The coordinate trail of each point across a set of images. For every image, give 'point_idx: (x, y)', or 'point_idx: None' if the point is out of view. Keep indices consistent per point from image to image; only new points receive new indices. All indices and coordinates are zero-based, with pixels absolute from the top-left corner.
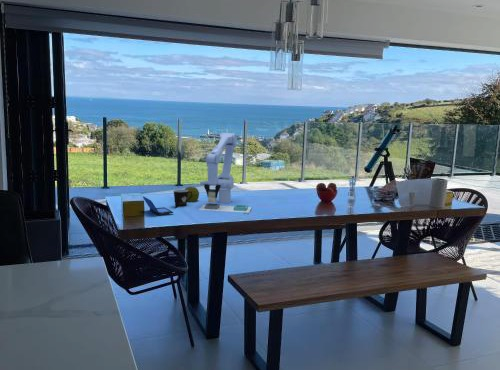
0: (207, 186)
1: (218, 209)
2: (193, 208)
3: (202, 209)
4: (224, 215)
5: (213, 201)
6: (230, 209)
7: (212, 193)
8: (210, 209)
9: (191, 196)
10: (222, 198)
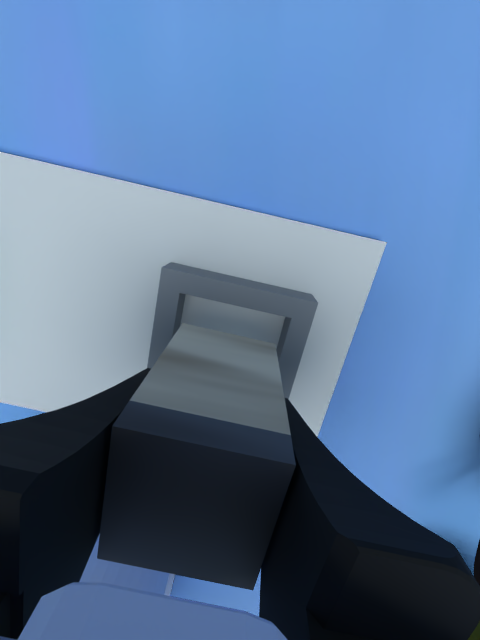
0: (355, 575)
1: (156, 260)
2: (416, 377)
3: (339, 256)
4: (76, 25)
5: (202, 333)
6: (24, 263)
7: (198, 397)
8: (247, 259)
9: (477, 570)
10: (119, 566)
